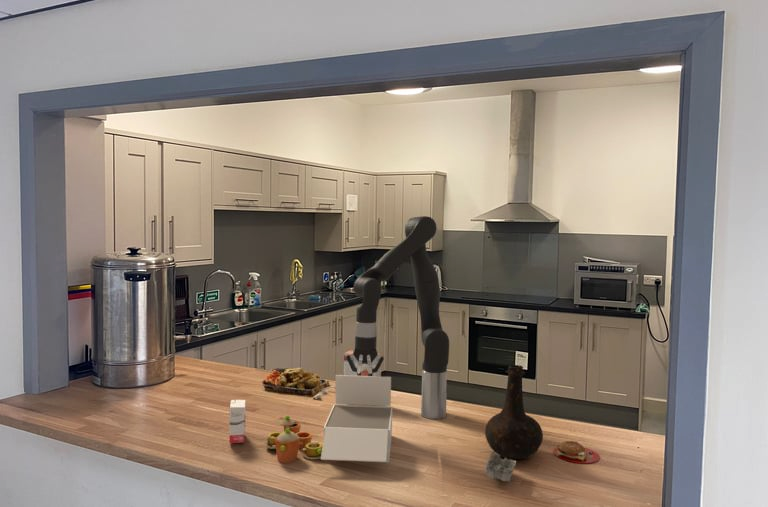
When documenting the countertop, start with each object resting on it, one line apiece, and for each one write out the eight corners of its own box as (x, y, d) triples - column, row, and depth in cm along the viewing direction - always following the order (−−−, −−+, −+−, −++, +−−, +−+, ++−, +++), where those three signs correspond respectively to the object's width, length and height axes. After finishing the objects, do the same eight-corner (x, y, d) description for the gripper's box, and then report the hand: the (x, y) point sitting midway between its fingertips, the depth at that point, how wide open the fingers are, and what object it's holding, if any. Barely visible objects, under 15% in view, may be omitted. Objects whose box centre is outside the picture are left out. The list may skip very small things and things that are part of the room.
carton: (391, 435, 190) (392, 406, 189) (388, 475, 159) (388, 440, 159) (333, 433, 191) (333, 404, 190) (318, 472, 160) (318, 438, 160)
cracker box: (380, 404, 223) (382, 353, 222) (375, 409, 217) (376, 356, 216) (349, 400, 228) (350, 349, 227) (342, 404, 222) (343, 352, 221)
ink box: (244, 442, 181) (245, 406, 180) (229, 443, 180) (229, 407, 179) (245, 433, 189) (245, 398, 189) (230, 434, 188) (230, 399, 188)
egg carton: (491, 463, 167) (492, 450, 167) (516, 470, 164) (518, 456, 164) (482, 476, 157) (484, 462, 157) (509, 484, 154) (511, 469, 154)
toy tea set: (330, 459, 170) (331, 428, 169) (281, 469, 162) (282, 436, 162) (299, 431, 193) (300, 404, 192) (255, 439, 185) (255, 410, 184)
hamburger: (596, 468, 168) (597, 448, 168) (549, 458, 175) (550, 439, 175) (602, 451, 181) (602, 433, 181) (557, 443, 187) (558, 425, 187)
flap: (390, 405, 189) (391, 395, 197) (391, 377, 187) (391, 367, 195) (335, 403, 190) (338, 393, 198) (335, 375, 188) (338, 366, 196)
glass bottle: (509, 469, 165) (512, 376, 163) (473, 448, 180) (475, 362, 179) (554, 459, 173) (557, 370, 172) (515, 439, 189) (518, 357, 187)
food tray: (243, 392, 237) (244, 367, 236) (275, 378, 261) (275, 355, 260) (318, 403, 225) (318, 376, 225) (343, 386, 249) (344, 362, 249)
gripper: (386, 333, 198) (385, 381, 199) (347, 332, 199) (346, 380, 199) (385, 337, 191) (383, 387, 191) (344, 335, 191) (343, 385, 192)
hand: (364, 383), depth 195 cm, fingers closed on flap, 2 cm apart
